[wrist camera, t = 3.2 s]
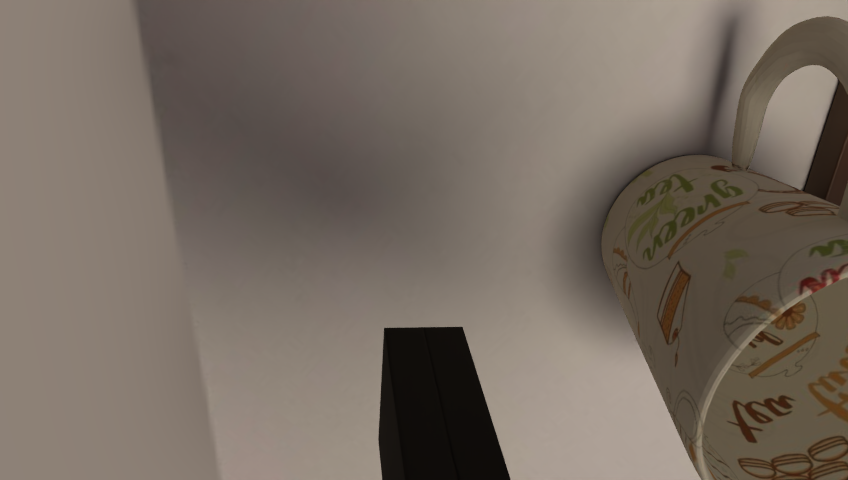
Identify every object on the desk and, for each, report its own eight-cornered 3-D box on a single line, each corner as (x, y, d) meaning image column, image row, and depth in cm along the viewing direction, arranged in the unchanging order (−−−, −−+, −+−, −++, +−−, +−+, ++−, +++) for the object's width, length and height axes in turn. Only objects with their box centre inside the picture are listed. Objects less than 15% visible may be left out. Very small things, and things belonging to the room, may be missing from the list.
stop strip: (884, -59, 23) (911, -56, 22) (917, -57, 23) (947, -54, 22) (748, 359, 30) (764, 377, 29) (775, 358, 30) (792, 376, 29)
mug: (558, 332, 28) (669, 544, 19) (597, -9, 22) (783, 65, 13) (759, 319, 29) (955, 515, 20) (846, -10, 23) (1172, 59, 14)
